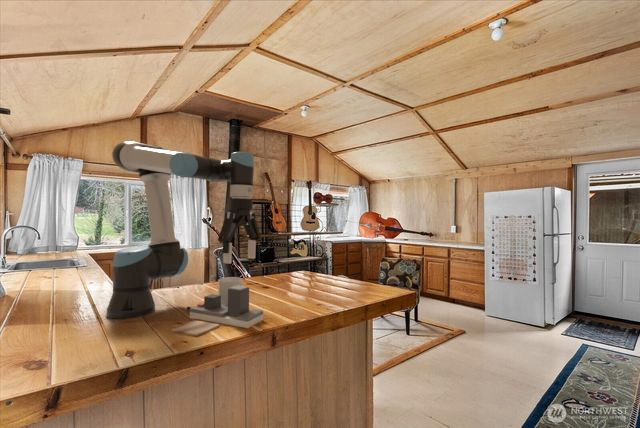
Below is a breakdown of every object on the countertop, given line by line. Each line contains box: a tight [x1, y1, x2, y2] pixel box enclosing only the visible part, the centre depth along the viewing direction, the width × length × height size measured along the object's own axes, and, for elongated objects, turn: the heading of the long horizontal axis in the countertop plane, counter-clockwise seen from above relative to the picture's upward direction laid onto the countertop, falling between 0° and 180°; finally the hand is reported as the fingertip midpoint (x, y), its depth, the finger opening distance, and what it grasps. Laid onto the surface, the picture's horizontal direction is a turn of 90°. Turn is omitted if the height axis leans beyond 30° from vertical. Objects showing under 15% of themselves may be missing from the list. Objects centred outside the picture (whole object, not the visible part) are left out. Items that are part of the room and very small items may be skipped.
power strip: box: [189, 293, 264, 329], centre depth 112 cm, size 24×9×7 cm, turn 67°
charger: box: [228, 285, 250, 318], centre depth 110 cm, size 5×5×9 cm
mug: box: [217, 276, 243, 305], centre depth 127 cm, size 12×9×11 cm
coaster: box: [171, 319, 221, 338], centre depth 102 cm, size 10×10×1 cm
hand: (240, 260), depth 111 cm, fingers open, 13 cm apart
